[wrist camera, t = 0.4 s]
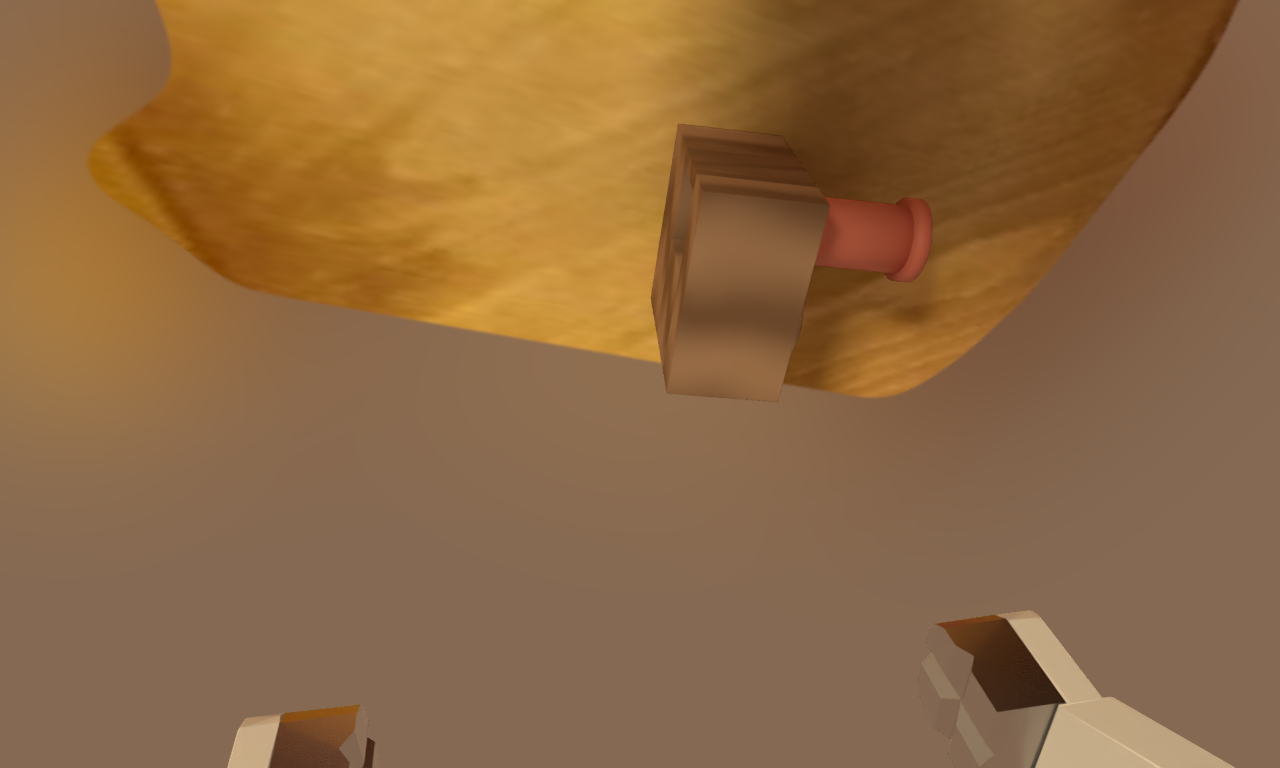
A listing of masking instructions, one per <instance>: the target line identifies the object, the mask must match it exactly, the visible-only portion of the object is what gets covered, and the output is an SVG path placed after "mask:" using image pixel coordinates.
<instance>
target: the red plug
mask: <svg viewBox="0 0 1280 768" xmlns="http://www.w3.org/2000/svg"><path fill="white" fill-rule="evenodd" d="M825 199H826V200H827V201H828V203H829V204H830V208H829V212H828V215H827V219H826V223H825V227H824V230H823V234H822V238H821V242H820V246H819V249H818V253H817V257H816V261H815V264H814V265H815V266H825V267H835V268H845V269H855V270H865V271H875V272H885V274H886V276H887V277H888V279H890V280H892V281H900V282H911V281H913V280H914V279H916V278H917V277H918V275H919V274H920V273H921V271H922V269H923V267H924V265H925V263H926V260H927V258H928V254H929V251H930V246H931V241H932V226H933V225H932V215H931V211H930V208H929V206H928V204H927V203H926V202H925V201H924V200H922V199H913V198H902V199H901V200H899V201H898V202H897V203H896V204H887V203H878V202H869V201H860V200H851V199H842V198H832V197H825Z"/></svg>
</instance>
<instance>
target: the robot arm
mask: <svg viewBox="0 0 1280 768" xmlns="http://www.w3.org/2000/svg"><path fill="white" fill-rule="evenodd" d="M926 643H927V644H928V646H929V648H930V650H931V651H932V653H931V654H930V655H929V656H928V657H927V658H926V659H925V660H924V661H922V662H921V666H920V672H919V677H918V682H919V690H920V698H921V701H922V703H923V706H924V709H925V712H926V714H927V716H928V718H929V720H930V722H931V724H932V725H933V727H934V728H935V729H937V730H938V731H939V732H941V733H942V734H944V735H945V736H947V737H948V738H950V739H951V740H950V746H949V751H948V755H949V758H950V759H951V761H952V763H953V765H954V767H955V768H1235V767H1233V766H1231V765H1230V764H1228V763H1226V762H1224V761H1222V760H1221V759H1219V758H1217V757H1216V756H1214V755H1212V754H1210V753H1209V752H1207V751H1205V750H1203V749H1201V748H1200V747H1198V746H1196V745H1195V744H1193V743H1191V742H1190V741H1188V740H1186V739H1184V738H1183V737H1181V736H1179V735H1177V734H1176V733H1174V732H1172V731H1170V730H1169V729H1167V728H1165V727H1163V726H1161V725H1160V724H1158V723H1157V722H1155V721H1153V720H1151V719H1150V718H1148V717H1146V716H1144V715H1142V714H1141V713H1139V712H1137V711H1136V710H1134V709H1132V708H1131V707H1128V706H1127V705H1125V704H1124V703H1122V702H1120V701H1118V700H1117V699H1115V698H1113V697H1105V698H1102V697H1101V696H1100V694H1099V693H1098V692H1097V690H1096V689H1095V688H1094V686H1093V685H1092V684H1091V682H1090V681H1089V680H1088V679H1087V677H1086V676H1085V675H1084V673H1083V672H1082V671H1081V669H1080V668H1079V667H1078V666H1077V664H1076V663H1075V662H1074V661H1073V659H1072V658H1071V657H1070V655H1069V654H1068V653H1067V651H1066V650H1065V649H1064V648H1063V646H1062V645H1061V644H1060V642H1059V641H1058V640H1057V638H1056V637H1055V636H1054V634H1053V633H1052V632H1051V631H1050V629H1049V628H1048V627H1047V625H1046V624H1045V623H1044V622H1043V620H1042V619H1041V618H1040V616H1039V615H1037V614H1036V613H1034V612H1033V611H1023V612H1015V613H1008V614H1001V615H997V616H996V615H990V616H983V617H976V618H970V619H963V620H956V621H950V622H943V623H937V624H934V625H933V626H932V627H931V628H930V630H929V632H928V636H927V640H926ZM368 727H369V718H368V715H367V712H366V709H365V705H353V706H344V707H335V708H326V709H318V710H308V711H300V712H290V713H283V714H275V715H268V716H260V717H252V718H245V720H244V722H243V723H242V725H241V726H240V728H239V730H238V732H237V736H236V739H235V743H234V746H233V750H232V753H231V757H230V760H229V764H228V768H380V766H379V757H378V752H377V748H376V744H375V742H374V741H373V740H371V739H370V738H368V737H367V735H368Z"/></svg>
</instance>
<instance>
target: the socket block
mask: <svg viewBox="0 0 1280 768" xmlns="http://www.w3.org/2000/svg"><path fill="white" fill-rule="evenodd" d="M829 208H830V204H829V203H828V201H827V200H826V199H825V197H824V196H823V194H822V193H821V192H820V190H819V189H818V187H817V186H816V184H815V183H814V182H813V180H812V179H811V177H810V176H809V174H808V173H807V172H806V170H805V169H804V167H803V166H802V165H801V163H800V162H799V160H798V159H797V157H796V156H795V155H794V153H793V152H792V150H791V149H790V148H789V146H788V145H787V143H786V142H785V140H784V139H783V138H782V136H777V135H769V134H761V133H752V132H744V131H735V130H727V129H719V128H710V127H702V126H693V125H685V124H678V129H677V135H676V141H675V148H674V154H673V160H672V167H671V173H670V179H669V186H668V192H667V199H666V205H665V211H664V218H663V224H662V230H661V237H660V243H659V250H658V256H657V262H656V269H655V275H654V281H653V288H652V294H651V302H652V308H653V314H654V320H655V326H656V332H657V338H658V344H659V350H660V356H661V362H662V368H663V374H664V380H665V385H666V392H667V393H668V394H681V395H694V396H707V397H720V398H733V399H745V400H758V401H771V402H778V400H779V396H780V392H781V388H782V385H783V381H784V377H785V374H786V370H787V366H788V362H789V359H790V355H791V351H792V350H793V349H794V347H795V345H796V343H797V340H798V337H799V334H800V330H801V325H802V319H803V308H804V302H805V298H806V295H807V291H808V287H809V283H810V279H811V276H812V272H813V268H814V264H815V261H816V257H817V253H818V249H819V246H820V242H821V238H822V234H823V230H824V227H825V223H826V219H827V215H828V212H829Z"/></svg>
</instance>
